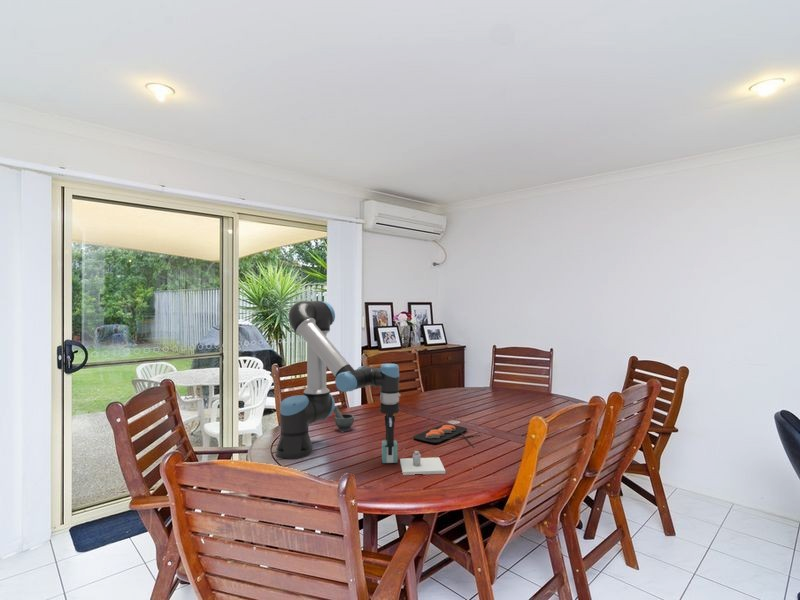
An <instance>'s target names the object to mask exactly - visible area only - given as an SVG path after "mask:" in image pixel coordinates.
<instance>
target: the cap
mask: <svg viewBox="0 0 800 600" xmlns="http://www.w3.org/2000/svg"><path fill="white" fill-rule="evenodd" d="M385 445H387V440H381V462H382V464H388V463H387V447H385ZM393 463H394V464H397V463H398V440H395V439H394V447H393ZM393 463H392V464H393Z"/></svg>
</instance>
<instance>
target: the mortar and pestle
mask: <svg viewBox="0 0 800 600" xmlns="http://www.w3.org/2000/svg"><path fill="white" fill-rule="evenodd" d="M333 413H334V414H335V416H334V422H335V426H337V428H338V430H339V431H338V430H337V431H338V432H340V431H348V432H350V431H351V427H352V426H353V424H354V420H355V416H354V414H350V413H341V411H340V410H339V407H338V405H335V408H334V411H333ZM349 430H350V431H349Z"/></svg>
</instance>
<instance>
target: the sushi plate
mask: <svg viewBox="0 0 800 600" xmlns="http://www.w3.org/2000/svg"><path fill="white" fill-rule="evenodd" d="M467 430H468V428H467V427H464V426H460V425H455V424H454V425H453V424H449V423H446V424H445V423H444V424H441V425H438V426H435V427H432V428H430V429H428V430H425V431H421V432H420V433H417V434H415V435H413V437H412V438H413V439H415V440H419V441H421V442H427V443H432V444H438V443H442V442H444V441H445V440H453V439H454V440H455V439H465V440H466V442H468V444H469V445H470V446H471V447H472V448H473V449H474V448H475V449H476V447H475V446H474V445H473V444H472V443H471V441H470V440H469V439H468V438H474V436H475V437H480V435H481V434H477V435H466V436H465V435H464V433H465V432H467ZM460 434H461V435H462V436H459V437H457V436H458V435H460ZM455 436H456V437H455Z"/></svg>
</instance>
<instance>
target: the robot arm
mask: <svg viewBox="0 0 800 600" xmlns="http://www.w3.org/2000/svg"><path fill="white" fill-rule="evenodd" d="M335 319H336V313H335V310H334V307H333V306H332V305H331V304H330V303H329V302H327V301H322V300H310V301H309V300H307V301H306V300H303V301H302V300H301V301H298V302H296V303H294V304H292V307H290V309H289V311H288V322H289V324H290V325H289V326H291V328H292V330H293V331H294V333H295V334H296V335H297V336H301V337H302V338H303V340H304V341H305V342H306V343H307V344H306V347H307V348H306V366H307V367H306V388H305V389H304V390H303V394H300V395H299V394H298V395H292V396H288V397H286V398H284V399H283V400H282V401H281V403H280V409H279V413H280V414H279V415H280V416H279V417H280V421H279V422H280V423H279V424H280V435H279V439H278V442H277V445H276V451H275V452H276V456H277V457H278V458H282V459H286V460H289V459H294V460H295V459H301V458H305V457H307V456H310V455H312V453H313V451H314V450H313V443H312V440H311V438H310V435H309V425H311V424H313V423H314V424H315V423H317V422H320V421H323V420H325V419H328V418H330V416H331V415H333V414H334V408H335V406H336V403H335V398H334V397H333V395H332V393H330V391H331V390H330V389H329V388H328V387H327V370H329V371H330V372H331V373H332V376H334V377H335V380H334V381H335V382H334V383H335V385H336V389H337V390H338V391H340V392H342V393H347V392H353V391H356V390H358V389H362V388H365V387H370V386H371V387H380V395H379V396H380V397H379V398H380V399H379V400H380V413H382V414H385V416H384V424H385V441H387V445H385V447H387V463H386V464H393V447H394V440H395V438H394V435H395V433H394V432H395V431H394V430H395V422H396V417H395V415H394V414H398V413H399V412H400V403H399V402H400V397H401V393H400V367H399V365H398V364H396V363H383V364H381V365H380V367H374V366H368V365H366V366H363V365H362V366H358V367H357V368H355V369H354V367H353V366H352V365H351V364H350V363H349V362H348V361H347V359H346V358H345V357H344V356H343V355H342V354H341V353H340V351H339V350H338V349H337V348H336V346H335V345H334V344H333V343H332V342H331V341H330V339H329V338H328V337H327V335H328V333H329V332H330V331H331V326H332V325H333V323H334V322H335Z"/></svg>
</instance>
